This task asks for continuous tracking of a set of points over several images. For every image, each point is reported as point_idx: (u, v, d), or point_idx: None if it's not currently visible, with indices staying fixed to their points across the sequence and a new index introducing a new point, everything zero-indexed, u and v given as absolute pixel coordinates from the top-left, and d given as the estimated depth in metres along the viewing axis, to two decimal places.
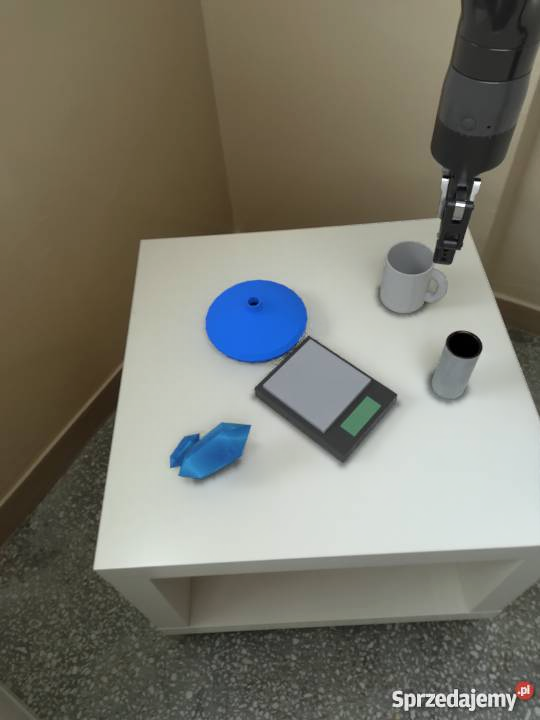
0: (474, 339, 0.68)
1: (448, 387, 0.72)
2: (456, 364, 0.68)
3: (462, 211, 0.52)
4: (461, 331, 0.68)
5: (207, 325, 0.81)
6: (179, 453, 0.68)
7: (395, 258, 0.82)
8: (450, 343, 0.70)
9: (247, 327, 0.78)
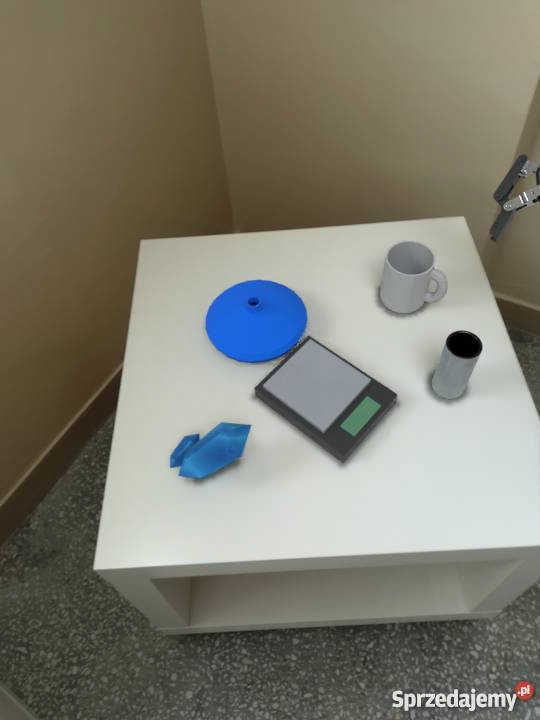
0: (474, 339, 0.68)
1: (448, 387, 0.72)
2: (456, 364, 0.68)
3: None
4: (461, 331, 0.68)
5: (207, 325, 0.81)
6: (179, 452, 0.68)
7: (395, 258, 0.82)
8: (450, 343, 0.70)
9: (247, 327, 0.78)
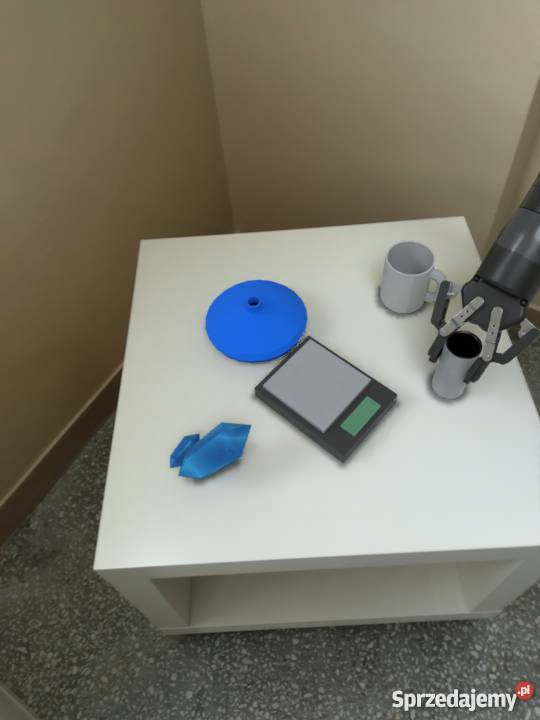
0: (474, 339, 0.68)
1: (448, 388, 0.72)
2: (455, 364, 0.68)
3: None
4: (461, 331, 0.68)
5: (207, 325, 0.81)
6: (179, 453, 0.68)
7: (395, 258, 0.82)
8: (450, 343, 0.70)
9: (247, 327, 0.78)
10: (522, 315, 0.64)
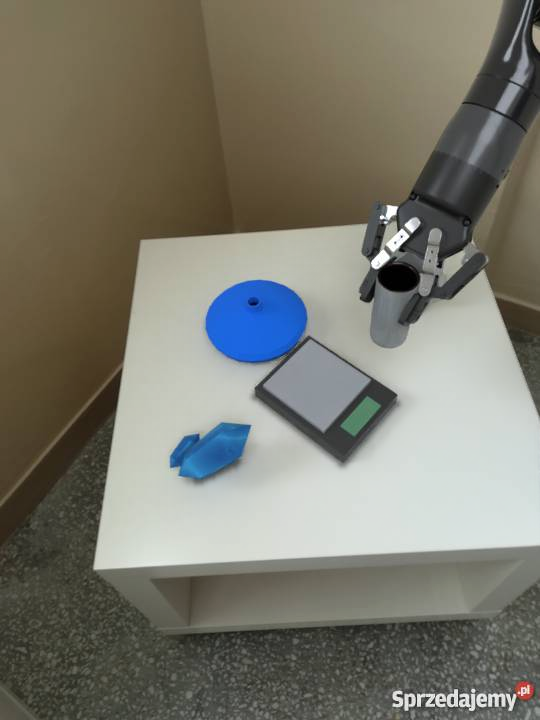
0: (411, 271, 0.57)
1: (385, 333, 0.61)
2: (388, 301, 0.56)
3: None
4: (396, 262, 0.57)
5: (207, 325, 0.81)
6: (179, 452, 0.68)
7: None
8: (384, 278, 0.58)
9: (247, 327, 0.78)
10: (465, 238, 0.53)
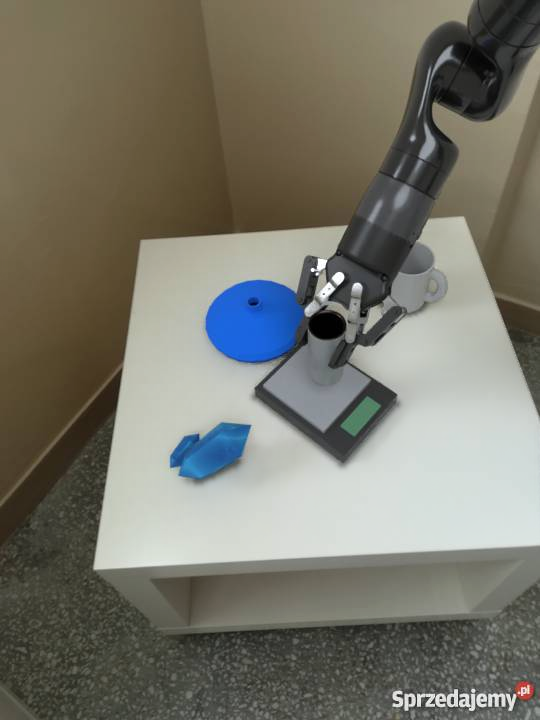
0: (339, 319, 0.62)
1: (320, 373, 0.66)
2: (318, 346, 0.62)
3: None
4: (326, 311, 0.63)
5: (207, 325, 0.81)
6: (179, 452, 0.68)
7: None
8: (317, 324, 0.64)
9: (247, 327, 0.78)
10: (383, 292, 0.58)
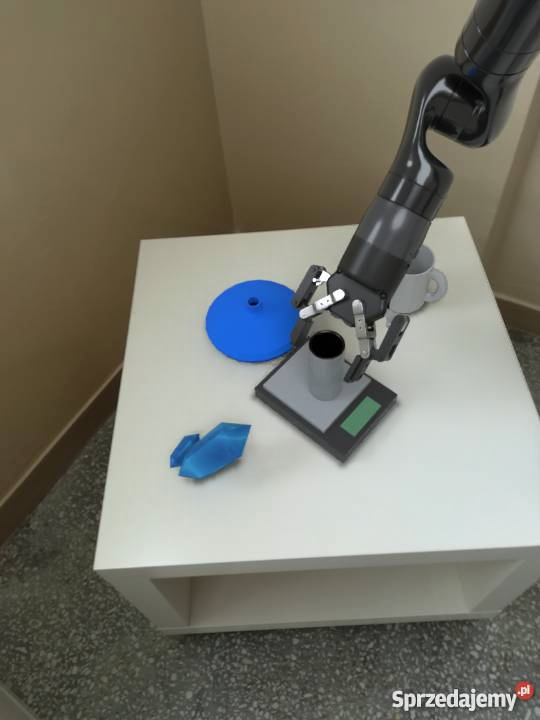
0: (338, 339, 0.66)
1: (320, 389, 0.70)
2: (318, 365, 0.65)
3: None
4: (326, 330, 0.66)
5: (207, 325, 0.81)
6: (179, 452, 0.68)
7: None
8: (317, 343, 0.67)
9: (247, 327, 0.78)
10: (382, 306, 0.61)
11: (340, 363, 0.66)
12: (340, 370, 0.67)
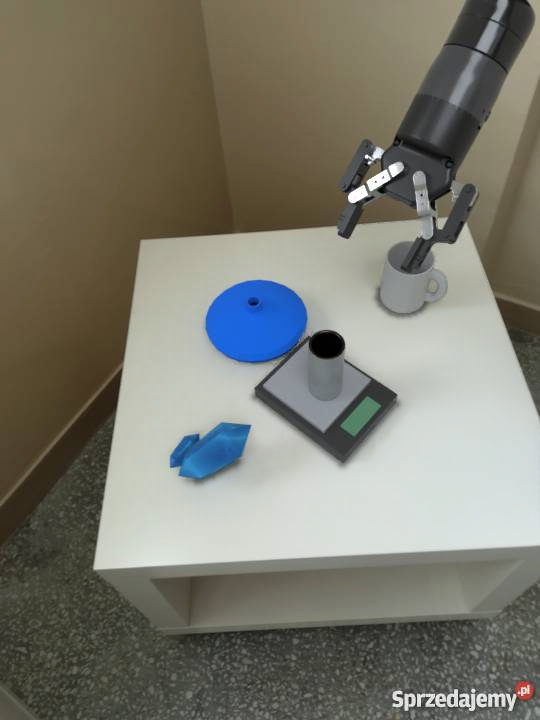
0: (339, 339, 0.66)
1: (320, 389, 0.70)
2: (318, 365, 0.65)
3: None
4: (326, 330, 0.66)
5: (207, 325, 0.81)
6: (179, 452, 0.68)
7: (395, 258, 0.82)
8: (317, 343, 0.67)
9: (247, 327, 0.78)
10: (448, 177, 0.53)
11: (340, 363, 0.66)
12: (340, 370, 0.67)
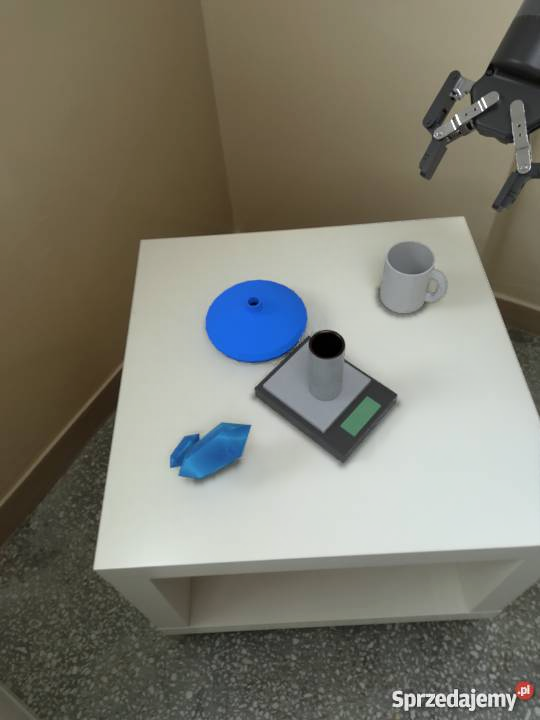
0: (339, 339, 0.66)
1: (320, 389, 0.70)
2: (318, 365, 0.65)
3: None
4: (326, 330, 0.66)
5: (207, 325, 0.81)
6: (179, 452, 0.68)
7: (395, 258, 0.82)
8: (317, 343, 0.67)
9: (247, 327, 0.78)
10: None
11: (340, 363, 0.66)
12: (340, 370, 0.67)
